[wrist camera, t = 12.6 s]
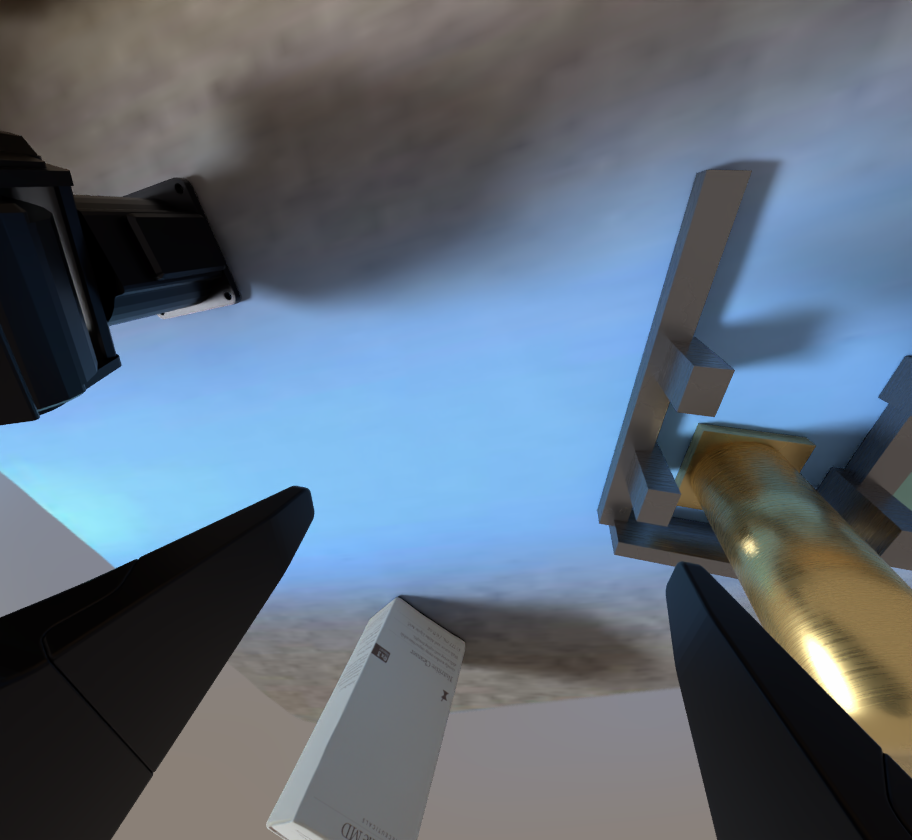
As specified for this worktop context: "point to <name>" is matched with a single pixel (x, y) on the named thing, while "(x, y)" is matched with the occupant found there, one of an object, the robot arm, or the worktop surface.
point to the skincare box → (376, 735)
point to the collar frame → (700, 392)
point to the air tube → (808, 575)
